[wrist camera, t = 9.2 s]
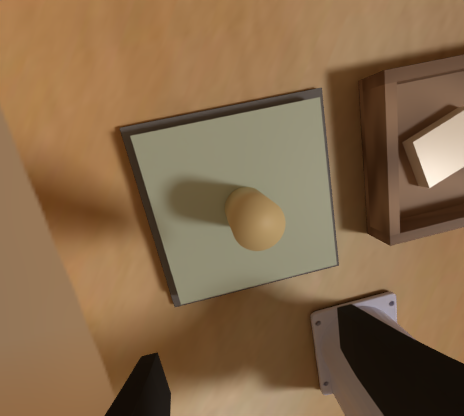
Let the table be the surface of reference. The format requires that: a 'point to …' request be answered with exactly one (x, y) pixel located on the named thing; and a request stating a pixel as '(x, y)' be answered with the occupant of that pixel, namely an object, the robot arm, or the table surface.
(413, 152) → the cream block
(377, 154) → the walnut box
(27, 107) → the table surface
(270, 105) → the charcoal mat
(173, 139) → the lid
